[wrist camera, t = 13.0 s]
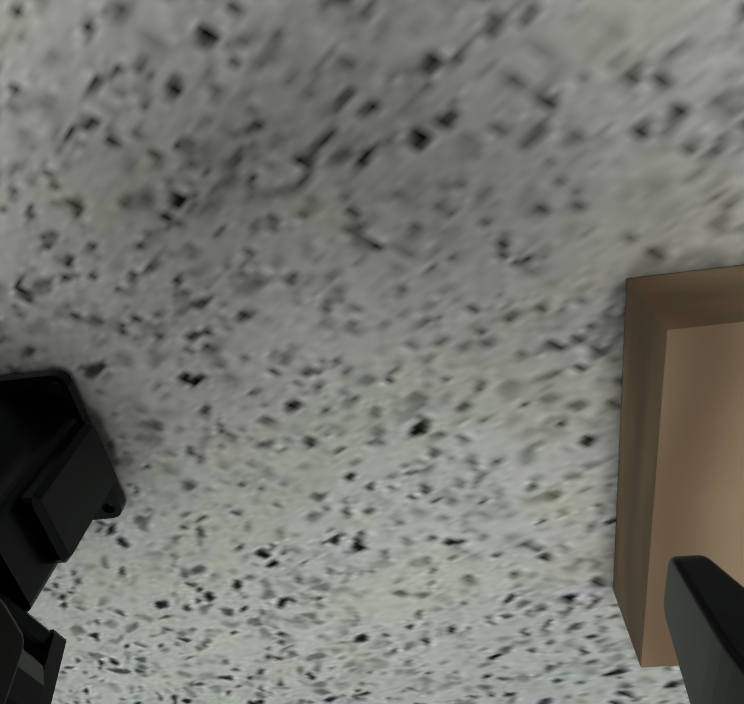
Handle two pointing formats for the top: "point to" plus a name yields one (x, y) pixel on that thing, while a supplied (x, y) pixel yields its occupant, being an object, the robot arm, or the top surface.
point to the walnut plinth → (678, 442)
